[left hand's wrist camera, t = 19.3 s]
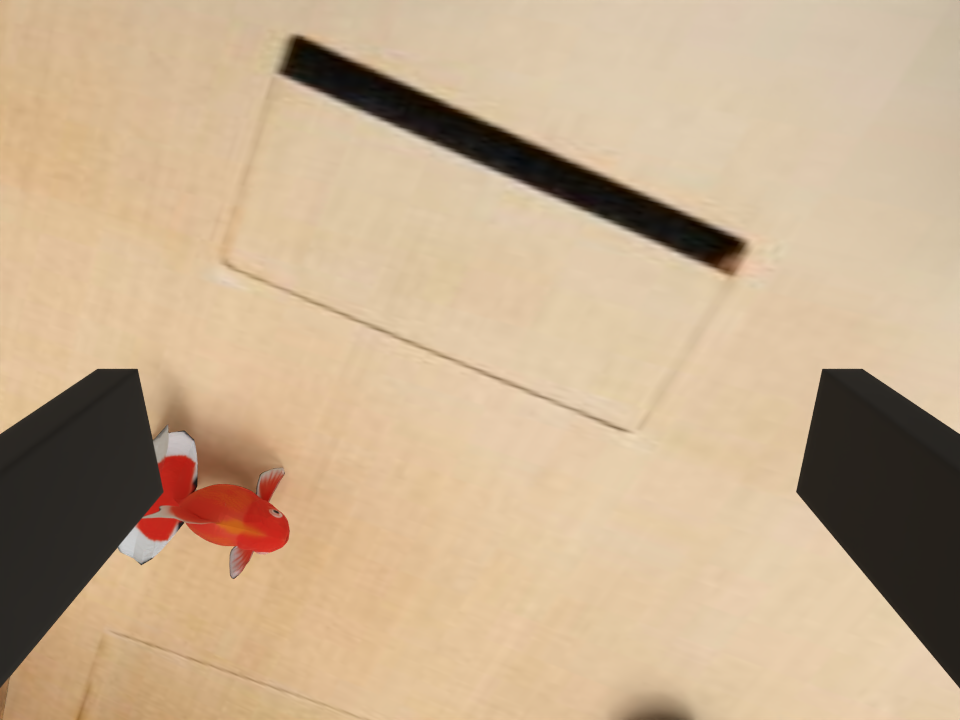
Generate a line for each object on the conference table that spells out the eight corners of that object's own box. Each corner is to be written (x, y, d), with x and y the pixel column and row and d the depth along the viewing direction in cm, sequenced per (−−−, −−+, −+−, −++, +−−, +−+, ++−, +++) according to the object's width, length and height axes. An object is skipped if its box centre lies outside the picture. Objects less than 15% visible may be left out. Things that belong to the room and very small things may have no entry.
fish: (256, 622, 48) (169, 663, 38) (120, 499, 52) (9, 508, 42) (337, 505, 48) (270, 516, 39) (195, 391, 52) (102, 375, 42)
